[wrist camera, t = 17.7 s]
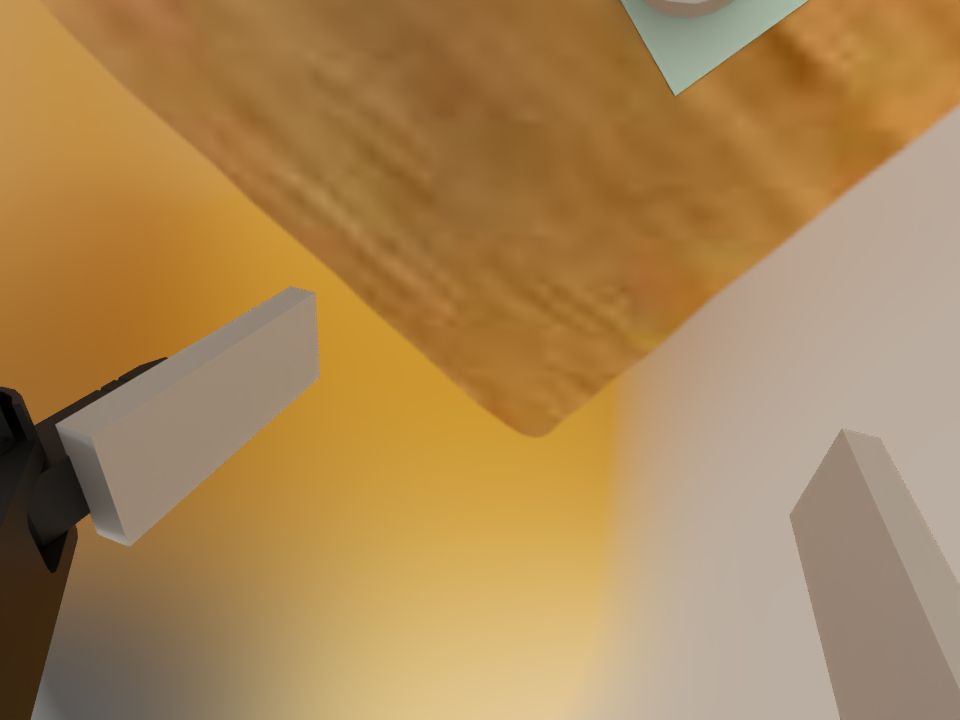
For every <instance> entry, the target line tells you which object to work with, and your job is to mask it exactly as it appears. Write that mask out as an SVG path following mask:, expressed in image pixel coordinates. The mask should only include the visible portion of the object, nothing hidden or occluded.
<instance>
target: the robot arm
mask: <svg viewBox="0 0 960 720" xmlns="http://www.w3.org/2000/svg"><path fill="white" fill-rule="evenodd" d="M318 355H319V354H318V336H317V317H316V298H315V293H314V292H310V291H306V290H303V289H299V288H295V287H289V288H287V289H285V290H284V291H282V292H280V293H278V294H277V295H275V296H273V297H272V298H270V299H268V300H267V301H265V302H263V303H261V304H260V305H258V306H256V307H255V308H253V309H251V310H250V311H248V312H246V313H244V314H243V315H241V316H239V317H238V318H236V319H234V320H232V321H231V322H229V323H227V324H226V325H224V326H222V327H221V328H219V329H217V330H215V331H214V332H212V333H210V334H209V335H207V336H205V337H204V338H202V339H200V340H198V341H197V342H195V343H193V344H192V345H190V346H188V347H187V348H185V349H183V350H181V351H180V352H178V353H176V354H175V355H173V356H171V357H170V358H166V357H164V358H161V359H158V360H155V361H152V362H149V363H146V364H143V365H140V366H138V367H136V368H134V369H133V370H131V371H129V372H127V373H126V374H124V375H122V376H121V377H119V379H118V380H117V381H116V380H113V381H112V382H110V383H108V384H107V385H105V386H103V387H101V390H100V391H99V390H96V391H94V392H92V393H91V394H89V395H87V396H85V397H84V398H82V399H80V400H78V401H77V402H75V403H73V404H71V405H70V406H68V407H66V408H64V409H62V410H61V411H59V412H57V413H55V414H54V415H52V416H50V417H48V418H47V419H45V420H43V421H41V422H40V423H38V424H36V425H34V424H33V422H32V420H31V417H30V415H29V412H28V410H27V408H26V405H25V403H24V400H23V398H22V396H21V395H20V394H19V393H18V392H17V391H16V390H14V389H9V388H5V387H0V720H30V719H31V716H32V712H33V708H34V704H35V700H36V697H37V693H38V689H39V685H40V681H41V677H42V674H43V670H44V666H45V662H46V658H47V654H48V650H49V647H50V643H51V639H52V635H53V632H54V627H55V624H56V620H57V616H58V612H59V609H60V605H61V601H62V597H63V593H64V589H65V586H66V582H67V578H68V574H69V570H70V566H71V563H72V559H73V555H74V551H75V547H76V543H77V539H78V534H77V528H76V525H75V524H76V523H77V522H79V521H80V520H81V519H82V518H84V517H85V516H86V515H88V514H89V513H90V515H91V518H92V520H93V523H94V526H95V528H96V531H97V533H98V534H99V535H101V536H104V537H106V538H109V539H111V540H114V541H116V542H119V543H121V544H124V545H126V546H129V547H130V546H131V545H132V544H133V543H134V542H135V541H136V540H137V539H139V538H140V537H141V536H142V535H143V534H144V533H145V532H146V531H148V530H149V529H150V528H151V527H152V526H153V525H154V524H156V523H157V522H158V521H159V520H160V519H161V518H162V517H163V516H164V515H166V514H167V513H168V512H169V511H170V510H171V509H172V508H173V507H174V506H176V505H177V504H178V503H179V502H180V501H181V500H182V499H183V498H185V497H186V496H187V495H188V494H189V493H190V492H191V491H193V489H195V488H196V487H197V486H198V485H199V484H200V483H202V482H203V481H204V480H205V479H206V478H207V477H208V476H209V475H211V474H212V473H213V472H214V471H215V470H216V469H217V468H218V467H219V466H221V465H222V464H223V463H224V462H225V461H226V460H227V459H228V458H229V457H231V456H232V455H233V454H234V453H235V452H236V451H237V450H238V449H240V448H241V447H242V446H243V445H244V444H245V443H246V442H248V441H249V440H250V439H251V438H252V437H253V436H254V435H255V434H256V433H258V431H260V430H261V429H262V428H263V427H264V426H266V425H267V424H268V423H269V422H270V421H271V420H272V419H273V418H274V417H276V416H277V415H278V414H279V413H280V412H281V411H282V410H284V409H285V408H286V407H287V406H288V405H289V404H290V403H291V402H292V401H294V400H295V399H296V398H297V397H298V396H299V395H300V394H301V393H303V392H304V391H305V390H306V389H307V388H308V387H309V386H310V385H311V384H313V383H314V382H315V381H316V380H317V379H318V378H319V377H320V372H319V356H318ZM790 519H791V523H792V527H793V531H794V535H795V539H796V543H797V547H798V551H799V555H800V559H801V563H802V567H803V571H804V575H805V579H806V583H807V587H808V592H809V595H810V599H811V603H812V607H813V612H814V616H815V620H816V624H817V628H818V632H819V635H820V640H821V643H822V647H823V652H824V656H825V660H826V663H827V667H828V672H829V676H830V679H831V684H832V688H833V692H834V696H835V699H836V703H837V708H838V711H839V716H840V720H960V585H959V583H958V581H957V579H956V577H955V576H954V574H953V572H952V570H951V568H950V566H949V565H948V563H947V561H946V559H945V557H944V555H943V553H942V552H941V550H940V548H939V546H938V544H937V543H936V540H935V539H934V537H933V535H932V533H931V531H930V529H929V527H928V526H927V524H926V522H925V520H924V518H923V517H922V515H921V513H920V511H919V509H918V507H917V505H916V503H915V502H914V500H913V498H912V496H911V494H910V492H909V490H908V489H907V487H906V485H905V483H904V481H903V480H902V477H901V476H900V474H899V472H898V470H897V468H896V466H895V465H894V463H893V461H892V459H891V457H890V455H889V454H888V452H887V450H886V448H885V446H884V444H883V443H882V440H881V439H880V438H877V437H874V436H869V435H866V434H862V433H858V432H854V431H850V430H846V429H841V431H840V432H839V434H838V436H837V437H836V439H835V441H834V442H833V444H832V446H831V447H830V449H829V451H828V452H827V454H826V456H825V457H824V459H823V461H822V462H821V464H820V466H819V467H818V469H817V471H816V473H815V474H814V476H813V477H812V479H811V481H810V482H809V484H808V486H807V487H806V489H805V491H804V492H803V494H802V496H801V497H800V499H799V501H798V502H797V504H796V505H795V507H794V509H793V511H792V512H791V514H790Z"/></svg>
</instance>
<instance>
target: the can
mask: <svg viewBox="0 0 960 720" xmlns="http://www.w3.org/2000/svg"><path fill="white" fill-rule="evenodd" d="M733 1H735V0H645V2H646V3H647V4H648V5H649V6H650V7H651V8H653V9H655V10H657V11H659V12H661V13H662V14H664V15H666V16H668V17H676V18H685V19H692V18H696V17H700V16H704V15H709V14H713V13H715V12H716V11H718V10H720V9H721V8H723V7H725V6H727V5H728V4H730V3H732V2H733Z"/></svg>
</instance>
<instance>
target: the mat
mask: <svg viewBox="0 0 960 720" xmlns="http://www.w3.org/2000/svg"><path fill="white" fill-rule="evenodd" d="M807 1H808V0H735V1H733V2H732V3H730V4H728V5H727V6H725V7H723V8H721V9H720V10H718V11H716V12H715V13H713V14H709V15H704V16H700V17H696V18H692V19H685V18H676V17H668V16H666V15H664V14H662V13H661V12H659V11H657V10H655V9H653V8H651V7H650V6H649V5H648V4H647V3H646V2H645V0H621V2H622V4H623V6H624V7H625V9H626V11H627V13H628V14H629V16H630V18H631V20H632V21H633V23H634V25H635V27H636V28H637V30H638V32H639V34H640V35H641V37H642V39H643V41H644V42H645V44H646V46H647V48H648V49H649V51H650V53H651V55H652V56H653V58H654V60H655V62H656V63H657V65H658V67H659V69H660V70H661V72H662V74H663V76H664V77H665V79H666V81H667V83H668V85H669V86H670V88H671V90H672V92H673V93H674V95H675V96H676V95H678V94H679V93H680V92H682V91H683V90H684V89H686V88H687V87H689V86H690V85H691V84H693V83H694V82H696V81H697V80H698V79H700V78H701V77H703V76H704V75H705V74H707V73H708V72H709V71H711V70H712V69H714V68H715V67H716V66H718V65H719V64H721V63H722V62H723V61H725V60H726V59H728V58H729V57H730V56H732V55H733V54H734V53H736V52H737V51H739V50H740V49H741V48H743V47H744V46H746V45H747V44H748V43H750V42H751V41H753V40H754V39H755V38H757V37H758V36H759V35H761V34H762V33H764V32H765V31H766V30H768V29H769V28H771V27H772V26H773V25H775V24H776V23H777V22H779V21H780V20H782V19H783V18H784V17H786V16H787V15H789V14H790V13H791V12H793V11H794V10H796V9H797V8H798V7H800V6H801V5H802V4H804V3H805V2H807Z"/></svg>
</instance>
